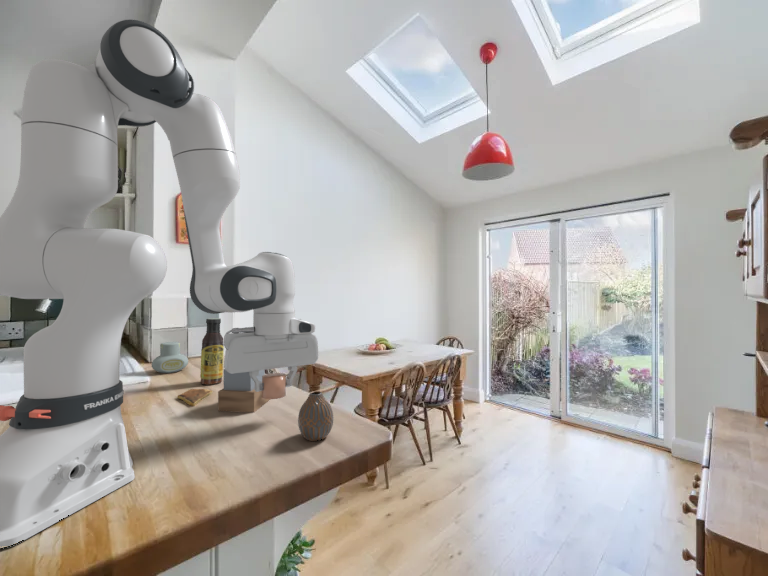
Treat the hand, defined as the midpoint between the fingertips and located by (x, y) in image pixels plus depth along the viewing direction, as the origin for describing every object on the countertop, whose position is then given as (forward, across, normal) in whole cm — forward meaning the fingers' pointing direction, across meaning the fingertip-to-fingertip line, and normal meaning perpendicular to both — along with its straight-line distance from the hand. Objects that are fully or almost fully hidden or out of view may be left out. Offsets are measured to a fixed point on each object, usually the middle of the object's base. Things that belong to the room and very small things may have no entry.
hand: (273, 388), depth 76 cm
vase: (+8, +4, -13) cm, 15 cm away
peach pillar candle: (+2, 0, 0) cm, 2 cm away
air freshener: (+5, -13, +66) cm, 67 cm away
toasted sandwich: (+7, -10, +28) cm, 31 cm away
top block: (+2, -2, +14) cm, 15 cm away
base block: (+7, -2, +15) cm, 16 cm away
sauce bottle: (+6, -5, +42) cm, 42 cm away
